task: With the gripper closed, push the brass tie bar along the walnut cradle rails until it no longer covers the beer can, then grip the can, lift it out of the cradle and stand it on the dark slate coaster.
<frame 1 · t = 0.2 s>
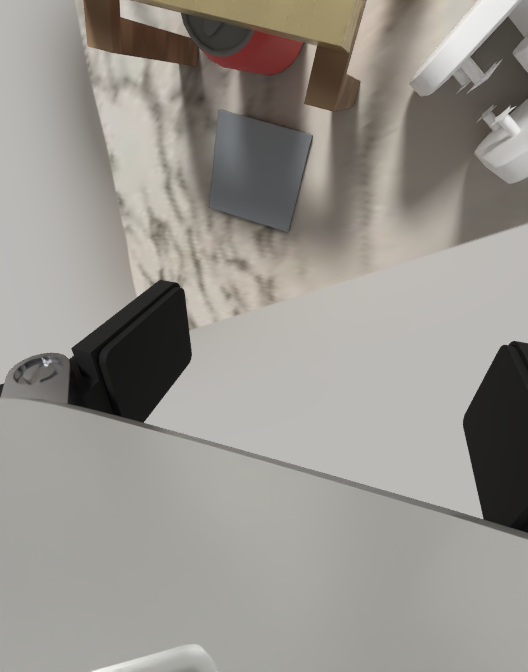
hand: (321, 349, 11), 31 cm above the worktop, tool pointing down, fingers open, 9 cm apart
coaster: (257, 173, 38), on the worktop
cradle: (271, 29, 31), on the worktop
beer can: (271, 29, 31), on the worktop
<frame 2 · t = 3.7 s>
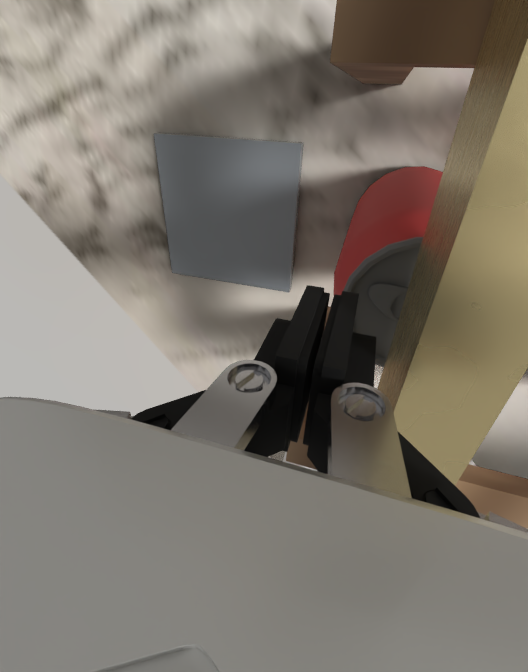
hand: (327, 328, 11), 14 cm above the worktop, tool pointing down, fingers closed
coaster: (229, 216, 25), on the worktop
cradle: (405, 221, 22), on the worktop
beer can: (405, 220, 22), on the worktop
tie bar: (435, 369, 10), point 15 cm above the worktop, slide at 0.3 cm, touching gripper
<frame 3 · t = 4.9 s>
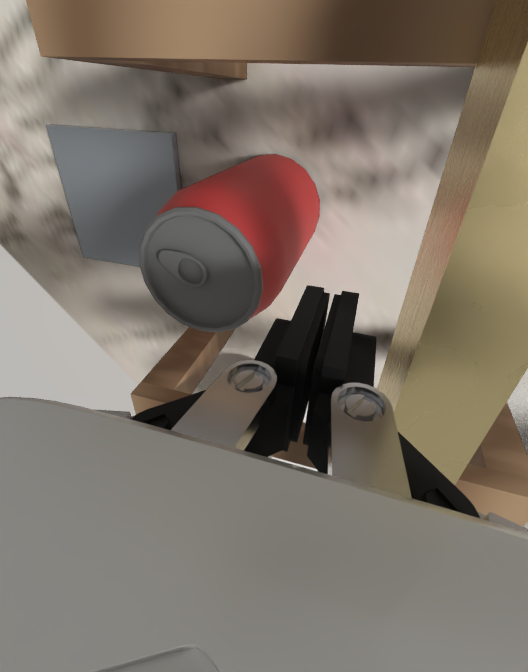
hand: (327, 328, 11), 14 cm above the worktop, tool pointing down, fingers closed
coaster: (125, 202, 27), on the worktop
cradle: (273, 206, 24), on the worktop
beer can: (274, 205, 24), on the worktop
tie bar: (435, 369, 10), point 15 cm above the worktop, slide at 9.0 cm, touching gripper
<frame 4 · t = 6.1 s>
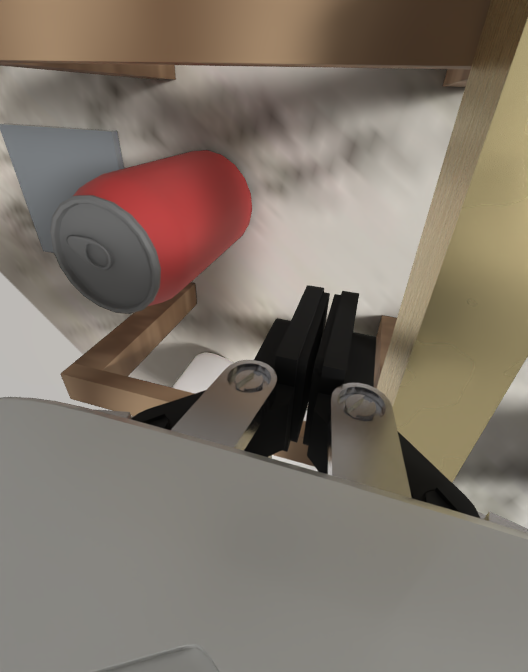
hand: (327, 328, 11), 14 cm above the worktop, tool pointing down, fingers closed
coaster: (77, 198, 28), on the worktop
cradle: (211, 200, 25), on the worktop
cable organizer: (250, 408, 37), on the worktop
beer can: (213, 199, 25), on the worktop
tie bar: (433, 366, 10), point 15 cm above the worktop, slide at 13.7 cm, touching gripper
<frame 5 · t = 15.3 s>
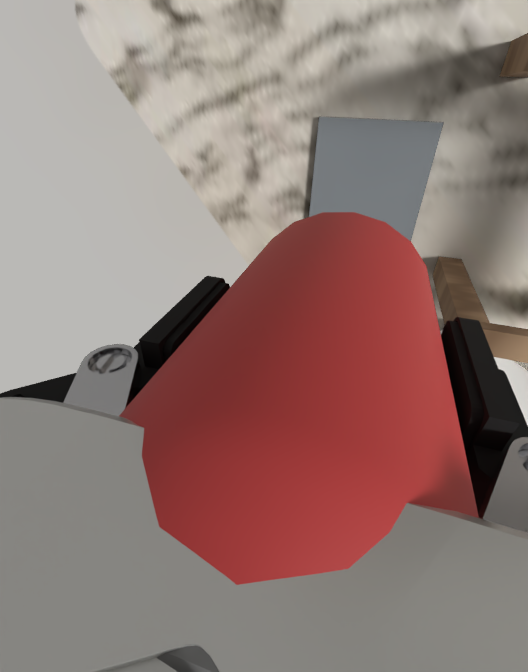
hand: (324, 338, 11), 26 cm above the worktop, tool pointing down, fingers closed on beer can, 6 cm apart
coaster: (367, 182, 32), on the worktop
cradle: (517, 182, 29), on the worktop
cable organizer: (464, 377, 40), on the worktop
beer can: (337, 290, 14), point 23 cm above the worktop, touching gripper
when the fingers open (5 cm above the worktop, at t = 19.5 s): beer can drops 1 cm, resting on coaster.
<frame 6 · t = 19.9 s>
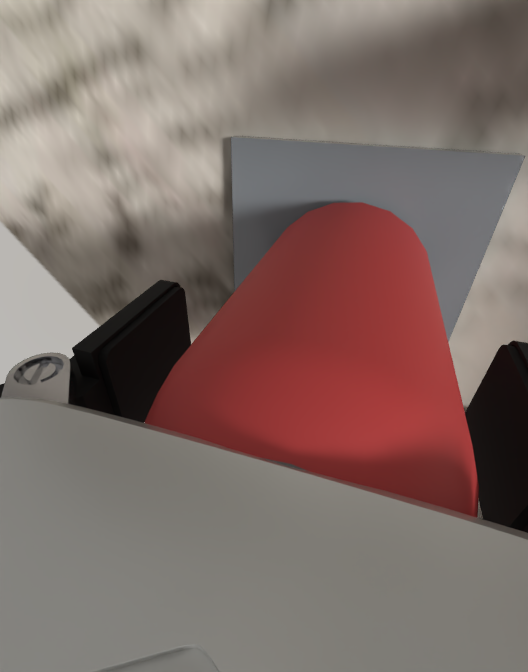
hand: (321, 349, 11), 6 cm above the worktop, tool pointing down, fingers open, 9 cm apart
coaster: (343, 271, 15), on the worktop
beer can: (345, 275, 15), resting on coaster
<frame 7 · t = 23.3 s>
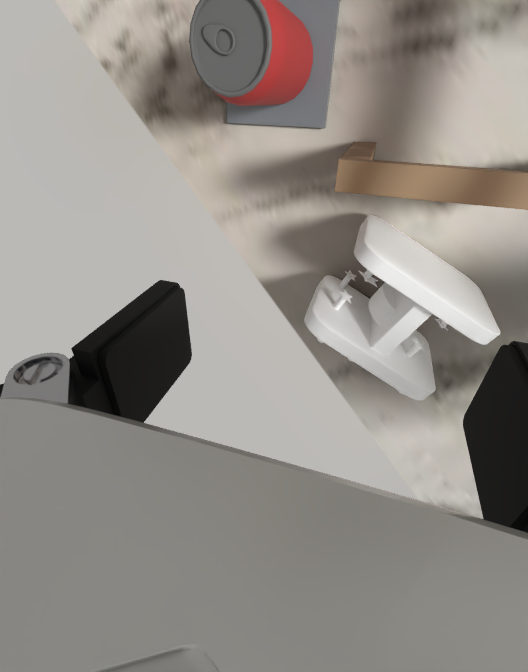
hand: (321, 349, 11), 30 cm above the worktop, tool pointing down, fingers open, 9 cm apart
coaster: (278, 61, 32), on the worktop
cradle: (419, 47, 28), on the worktop
cable organizer: (394, 282, 40), on the worktop
beer can: (279, 61, 31), resting on coaster
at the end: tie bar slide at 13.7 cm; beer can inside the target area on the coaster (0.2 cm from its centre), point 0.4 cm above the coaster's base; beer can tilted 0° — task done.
